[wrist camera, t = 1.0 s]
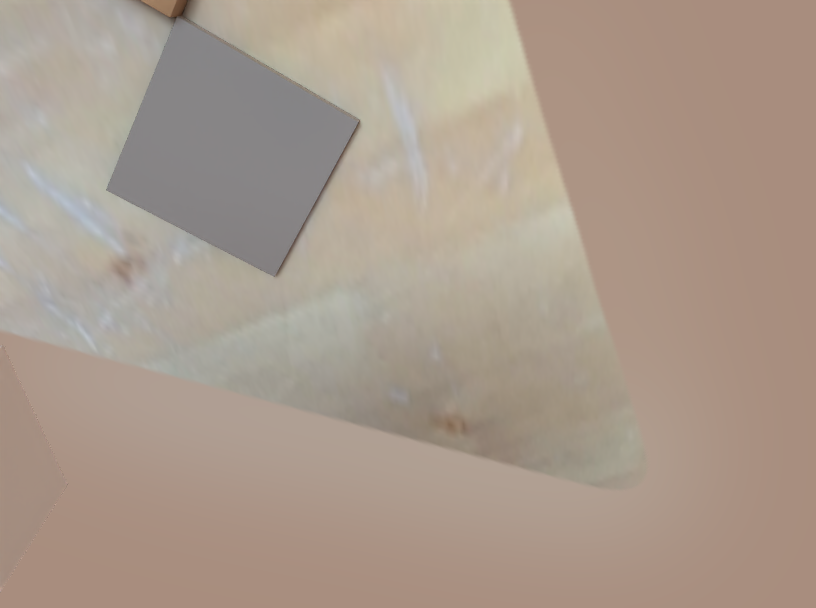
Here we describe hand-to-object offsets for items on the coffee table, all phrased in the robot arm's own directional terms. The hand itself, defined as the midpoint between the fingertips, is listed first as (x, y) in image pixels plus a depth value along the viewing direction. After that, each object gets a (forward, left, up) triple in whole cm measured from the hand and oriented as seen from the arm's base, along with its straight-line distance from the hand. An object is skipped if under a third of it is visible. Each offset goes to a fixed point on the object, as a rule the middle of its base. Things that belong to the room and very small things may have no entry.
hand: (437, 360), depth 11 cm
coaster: (-7, -7, -24) cm, 26 cm away
